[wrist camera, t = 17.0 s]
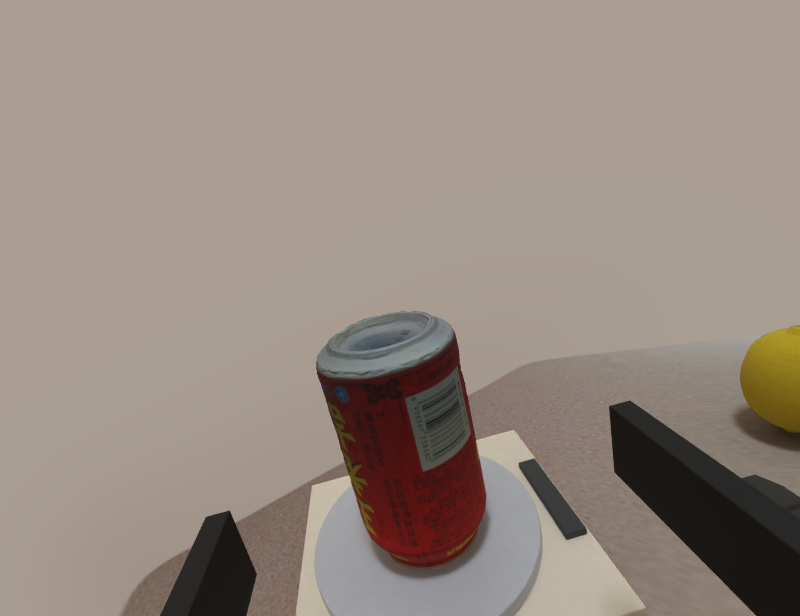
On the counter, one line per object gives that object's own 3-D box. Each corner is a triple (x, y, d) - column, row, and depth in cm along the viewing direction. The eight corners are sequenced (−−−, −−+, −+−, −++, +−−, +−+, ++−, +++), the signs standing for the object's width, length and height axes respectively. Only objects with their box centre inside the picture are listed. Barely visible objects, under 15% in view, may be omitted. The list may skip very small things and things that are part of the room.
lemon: (858, 426, 26) (872, 316, 24) (840, 470, 24) (854, 351, 21) (752, 401, 31) (756, 307, 29) (727, 436, 28) (729, 334, 26)
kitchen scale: (518, 456, 31) (512, 420, 30) (649, 647, 17) (646, 593, 17) (320, 511, 30) (308, 476, 29) (298, 761, 16) (275, 710, 16)
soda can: (512, 501, 23) (477, 303, 19) (451, 611, 18) (389, 370, 14) (416, 468, 27) (374, 303, 24) (345, 548, 22) (279, 354, 19)
